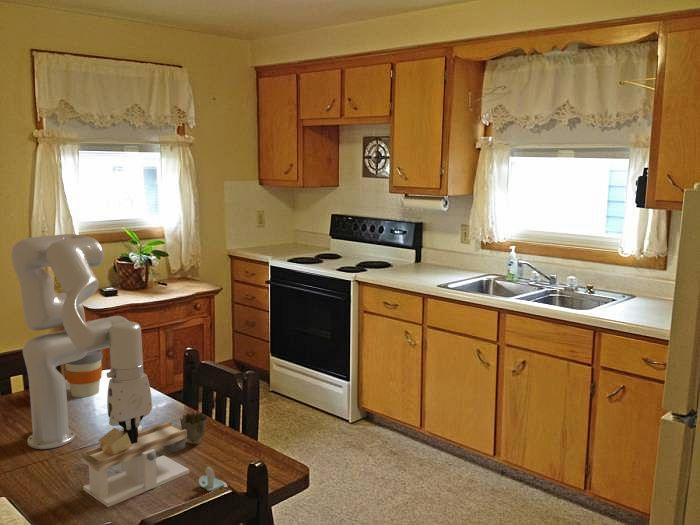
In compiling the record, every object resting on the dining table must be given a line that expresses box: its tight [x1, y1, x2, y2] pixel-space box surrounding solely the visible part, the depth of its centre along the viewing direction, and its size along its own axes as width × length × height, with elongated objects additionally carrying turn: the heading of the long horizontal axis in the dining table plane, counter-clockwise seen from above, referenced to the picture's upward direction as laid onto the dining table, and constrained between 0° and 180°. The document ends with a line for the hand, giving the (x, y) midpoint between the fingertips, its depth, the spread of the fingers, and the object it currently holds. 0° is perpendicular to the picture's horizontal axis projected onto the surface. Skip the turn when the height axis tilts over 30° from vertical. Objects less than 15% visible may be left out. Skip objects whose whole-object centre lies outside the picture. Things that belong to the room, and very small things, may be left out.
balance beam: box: [80, 421, 187, 472], centre depth 168 cm, size 25×8×5 cm, turn 139°
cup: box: [179, 412, 208, 446], centre depth 190 cm, size 8×7×8 cm
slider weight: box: [97, 427, 132, 456], centre depth 162 cm, size 5×5×4 cm
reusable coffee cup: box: [64, 349, 104, 398], centre depth 228 cm, size 13×13×15 cm
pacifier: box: [198, 466, 228, 493], centre depth 166 cm, size 7×6×6 cm
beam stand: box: [82, 449, 190, 508], centre depth 168 cm, size 23×14×10 cm, turn 139°
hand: (131, 441), depth 165 cm, fingers closed
